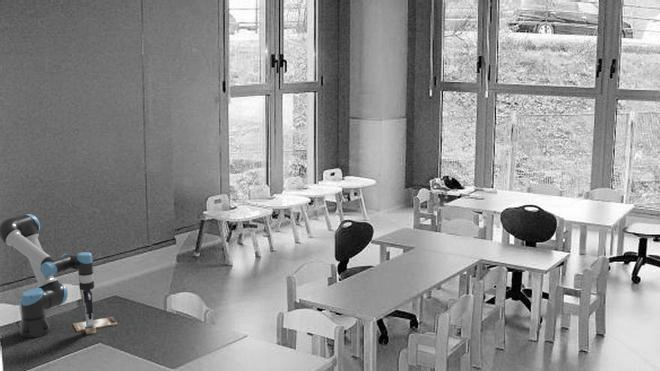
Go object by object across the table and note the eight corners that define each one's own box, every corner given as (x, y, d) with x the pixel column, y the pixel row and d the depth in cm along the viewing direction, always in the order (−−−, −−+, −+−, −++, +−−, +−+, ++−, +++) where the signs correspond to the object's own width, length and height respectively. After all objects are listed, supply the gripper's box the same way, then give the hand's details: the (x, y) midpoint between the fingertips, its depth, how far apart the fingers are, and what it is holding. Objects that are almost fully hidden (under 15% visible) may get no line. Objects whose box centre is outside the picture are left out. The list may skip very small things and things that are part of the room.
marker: (87, 330, 432) (85, 304, 429) (86, 328, 435) (84, 302, 432) (94, 329, 434) (92, 303, 431) (92, 327, 437) (90, 301, 434)
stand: (86, 334, 431) (86, 329, 431) (85, 331, 436) (84, 326, 435) (96, 332, 433) (95, 327, 433) (94, 330, 438) (94, 324, 437)
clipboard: (77, 332, 435) (76, 329, 435) (72, 324, 448) (72, 321, 447) (118, 324, 445) (118, 322, 445) (112, 317, 457) (112, 315, 457)
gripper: (96, 284, 424) (99, 326, 428) (90, 276, 438) (94, 317, 443) (81, 286, 421) (85, 329, 425) (76, 278, 435) (79, 320, 439)
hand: (89, 323), depth 434 cm, fingers closed on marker, 3 cm apart
